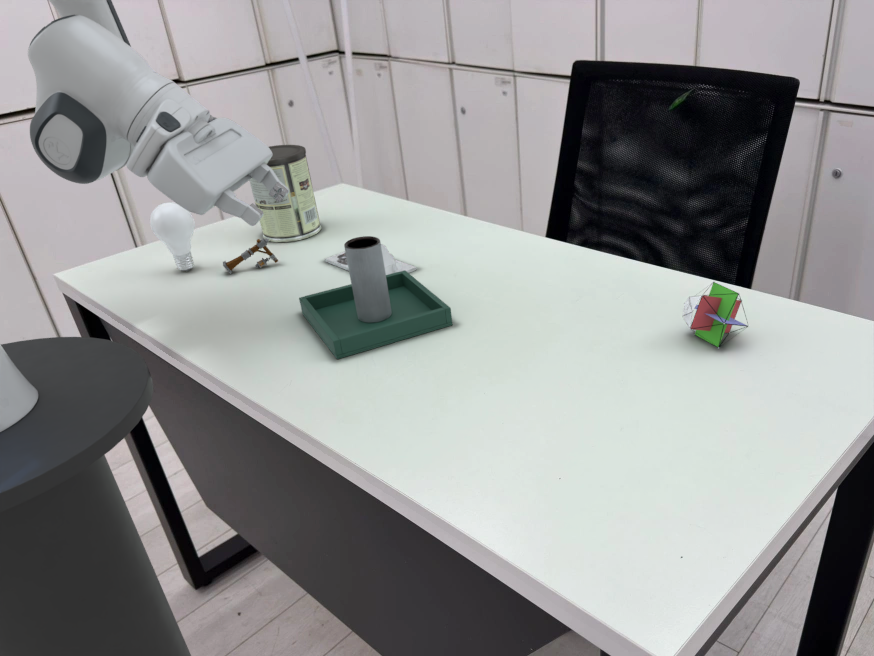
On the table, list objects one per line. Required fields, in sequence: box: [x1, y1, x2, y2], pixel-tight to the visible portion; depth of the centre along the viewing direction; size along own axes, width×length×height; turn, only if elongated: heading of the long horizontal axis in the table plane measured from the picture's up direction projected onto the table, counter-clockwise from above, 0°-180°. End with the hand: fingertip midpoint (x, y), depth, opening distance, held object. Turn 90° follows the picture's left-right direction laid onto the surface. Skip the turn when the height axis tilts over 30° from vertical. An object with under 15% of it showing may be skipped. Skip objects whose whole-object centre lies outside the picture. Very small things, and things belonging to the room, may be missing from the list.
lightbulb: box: [149, 201, 196, 272], centre depth 117 cm, size 6×6×11 cm
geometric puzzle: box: [682, 280, 750, 349], centre depth 87 cm, size 7×7×8 cm
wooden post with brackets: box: [222, 238, 279, 275], centre depth 118 cm, size 2×8×4 cm, turn 108°
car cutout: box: [324, 243, 418, 275], centre depth 115 cm, size 15×7×4 cm, turn 46°
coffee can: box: [248, 144, 322, 243], centre depth 129 cm, size 10×10×14 cm
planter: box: [343, 235, 392, 323], centre depth 97 cm, size 4×4×10 cm
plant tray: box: [298, 270, 453, 360], centre depth 99 cm, size 16×16×2 cm
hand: (272, 208), depth 92 cm, fingers open, 8 cm apart
